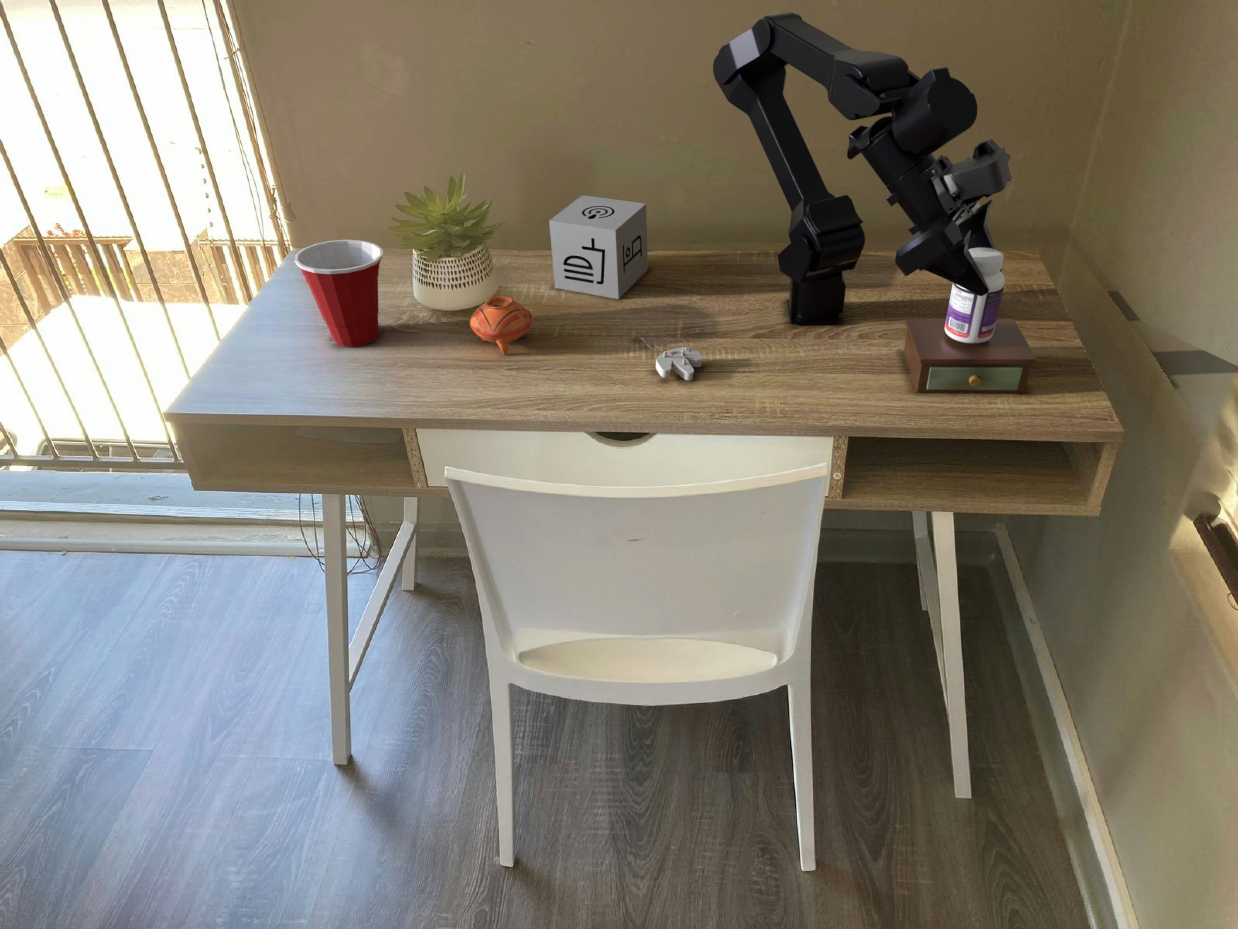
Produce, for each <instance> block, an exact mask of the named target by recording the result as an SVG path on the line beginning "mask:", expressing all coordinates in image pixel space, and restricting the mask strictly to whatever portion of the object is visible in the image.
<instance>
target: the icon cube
mask: <svg viewBox="0 0 1238 929" xmlns="http://www.w3.org/2000/svg"><path fill="white" fill-rule="evenodd" d="M548 222H549V223H548V224H549V233H550V234H549V237H550V245H551V246H550V247H551V257H552V269H553V281H554V288H555V289H560V290H565V291H570V292H577V293H580V294H581V293H582V294H587V295H594V296H598V297H605V298H609V299H617V300H619V299H620V298H621V297H622V296H623V295H624V294H626V292H628V290H630V288H631V287H633V286H634V285H635V283H636V282H638V281H639V280H640V279H641V277H643V275H644V274H646V272H647V271H649V270H648V269H649V268H648V230H647V229H648V228H647V227H648V225H647V224H648V222H647V203H645V202H636V201H629V200H621V199H613V198H606V197H598V196H593V195H592V196H591V195H583V194H582V195H580V196H579V197H578V198H576V200H574V201H572V202H571V203H570V204H568V206H566V207H565V208H563V209H562V210H561V211H560V212H558V213H557V214H556V215H554V216H553V217H552V218H550V219H549V220H548Z"/></svg>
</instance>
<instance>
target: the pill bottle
mask: <svg viewBox="0 0 1238 929" xmlns="http://www.w3.org/2000/svg"><path fill="white" fill-rule="evenodd" d="M995 249H996V248H995ZM995 249H991V248H984V247H978V248H972V249H969V252H970V254H971V256H972V257H973V259H974V261H975V263H976V265H977V267H978V268H979V270H980V272H981V274H982V276H983V277H984V279H985V281H986V284H987V286H988V288H989V292H988V293H987V294H985V295H983V296H979V295H977V294H975V293H973V292H971V291H969V290H967V289H965V288H963V287H961V286H959V285H957V284H955V283H953V282H952V286H951V291H950V297H949V301H948V307H947V311H946V318H945V319H946V322H945V332H946V334H947V335H948V336H949V337H951V338H952V339H954V340H957V341H960V342H964V343H981V342H985V341H987V340H989V339H990V338H991V337H992V336H993V333H994V329H995V325H996V320H997V319H998V315H999V310H1000V307H1001V302H1002V297H1003V294H1004V290H1005V284H1006V277H1005V275H1004V274H1003V272H1002V271H1001V272H1000V270H1001V268H1002V269H1003V264H1004V259H1005V256H1004V255H1005V254H1004V253H1003V252H1002V251H999V250H997V249H996V250H995Z"/></svg>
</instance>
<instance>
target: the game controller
mask: <svg viewBox="0 0 1238 929" xmlns="http://www.w3.org/2000/svg"><path fill="white" fill-rule="evenodd" d="M640 339H641V340H643V342H645V345H646V346H647V347H648V348H650V349H653V350H654V349H655V348H658V349H660V350H661V352H662V353H660V354H659V355H658V356H657V357H656V360H655V370H656V372H657V373H658V375H660V377H662V378H663V379H667V378H670V376H671V373H672V372H671V370H672V371H673V372H674V373H676V374H677V375H678V376H679V377H680V378H682V379H684V380H685V381H692V380H693V378H694V372H695V369H694V368H700V367H702V364H703V354H701V353H700V352H699V351H697V350H696V349H694V348H692V347H690V346H681V347H676V348H672V349H670V350H666V351H665V350H664V349H662V348H661V347H660V346H657V345H655V346H653V347H651V346H650V345H649V344H648V343H647V341H646V340H645V339H643V338H642V337H640ZM639 341H640V340H639V339H637V342H639ZM693 367H694V368H693Z"/></svg>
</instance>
